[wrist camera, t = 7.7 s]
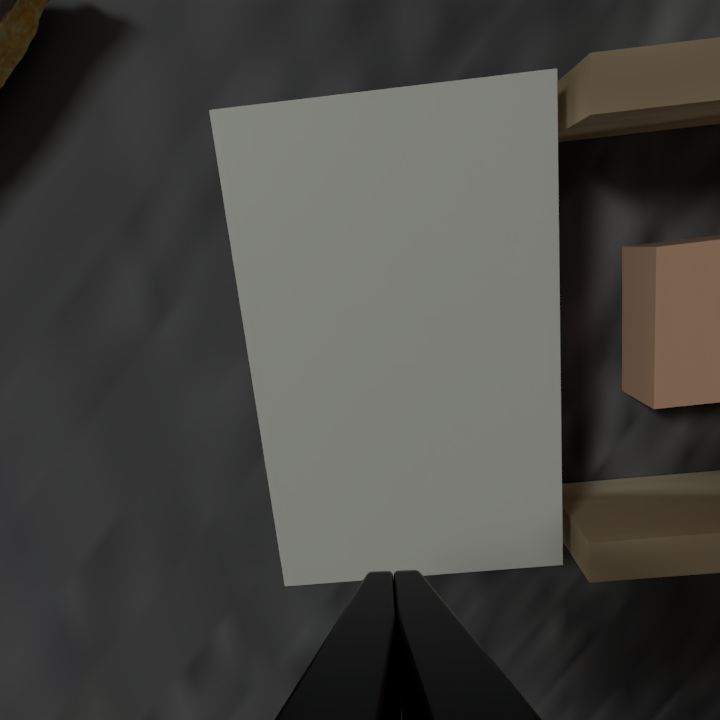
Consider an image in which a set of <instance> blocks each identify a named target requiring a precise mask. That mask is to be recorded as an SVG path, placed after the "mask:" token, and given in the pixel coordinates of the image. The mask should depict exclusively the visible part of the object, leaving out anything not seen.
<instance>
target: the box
mask: <svg viewBox="0 0 720 720" xmlns="http://www.w3.org/2000/svg"><path fill="white" fill-rule="evenodd" d="M557 100H558V142H565V141H573V140H582V139H591V138H600V137H609V136H617V135H626V134H635V133H644V132H653V131H662V130H670V129H679V128H688V127H697V126H706V125H714V124H720V37H718V38H710V39H701V40H693V41H685V42H677V43H668V44H660V45H652V46H644V47H635V48H627V49H619V50H610V51H602V52H594V53H590V54H589V55H588V56H586V57H585V58H584V59H583V60H582V61H581V62H580V63H578V64H577V65H576V66H575V67H574V68H573V69H571V70H570V71H569V72H568V73H567V74H566V75H565V76H563V77H562V78H561V79H560V80H559V81H558V82H557ZM562 529H563V543H564V544H565V546H566V547H567V549H568V550H569V552H570V553H571V555H572V557H573V558H574V560H575V561H576V563H577V564H578V566H579V567H580V569H581V570H582V572H583V574H584V575H585V577H586V578H587V580H588V581H589V583H591V582H604V581H617V580H630V579H644V578H657V577H670V576H684V575H697V574H710V573H720V471H708V472H696V473H684V474H672V475H660V476H648V477H636V478H624V479H613V480H601V481H589V482H577V483H565V484H562Z"/></svg>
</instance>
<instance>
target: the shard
mask: <svg viewBox="0 0 720 720" xmlns="http://www.w3.org/2000/svg"><path fill="white" fill-rule="evenodd" d="M48 2H49V0H0V88H1V87H3V86H4V84H5V81H6V80H7V78H8V77H9V76H10V74H11V73H12V71H13V70H14V68H15V67H16V65H17V64H18V63H19V62H20V61H21V59H22V58H23V56H24V55H25V53H26V51H27V49H28V47H29V44H30V42H31V41H32V39H33V38H34V36H35V35H36V32H37V30H38V26H39V19H40V17H41V15H42V12H43V10H44V9H45V7H46V5H47V4H48Z"/></svg>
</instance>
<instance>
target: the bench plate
mask: <svg viewBox="0 0 720 720" xmlns="http://www.w3.org/2000/svg"><path fill="white" fill-rule="evenodd" d="M209 112H210V118H211V125H212V131H213V137H214V144H215V150H216V156H217V162H218V169H219V175H220V181H221V188H222V194H223V200H224V206H225V213H226V219H227V225H228V232H229V238H230V244H231V251H232V257H233V263H234V269H235V276H236V282H237V288H238V295H239V301H240V307H241V313H242V320H243V326H244V332H245V339H246V345H247V351H248V358H249V364H250V370H251V376H252V383H253V389H254V395H255V402H256V408H257V414H258V420H259V427H260V433H261V439H262V446H263V452H264V458H265V465H266V471H267V477H268V483H269V490H270V496H271V502H272V509H273V515H274V521H275V527H276V534H277V540H278V546H279V553H280V559H281V565H282V572H283V578H284V584H285V586H295V585H308V584H321V583H334V582H347V581H360V580H363V579H364V578H365V576H366V575H367V573H369V572H373V571H390V572H392V573H393V578H394V573H395V572H396V571H400V570H417V571H419V572H420V573H421V574H422V575H423V576H425V575H438V574H451V573H464V572H477V571H490V570H503V569H516V568H529V567H542V566H555V565H563V529H562V443H561V357H560V272H559V186H558V100H557V69H549V70H540V71H532V72H524V73H515V74H507V75H498V76H490V77H482V78H473V79H465V80H457V81H448V82H440V83H432V84H423V85H415V86H407V87H398V88H390V89H382V90H373V91H365V92H357V93H348V94H340V95H332V96H323V97H315V98H306V99H298V100H290V101H281V102H273V103H265V104H256V105H248V106H240V107H231V108H223V109H215V110H209Z"/></svg>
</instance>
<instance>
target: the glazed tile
mask: <svg viewBox="0 0 720 720" xmlns="http://www.w3.org/2000/svg"><path fill="white" fill-rule="evenodd" d="M622 391H623V392H625V393H627V394H628V395H630V396H632V397H634V398H635V399H637V400H639V401H641V402H642V403H644V404H646V405H647V406H649V407H651V408H653V409H660V408H670V407H680V406H689V405H699V404H708V403H718V402H720V235H717V236H709V237H700V238H692V239H683V240H675V241H667V242H658V243H650V244H641V245H633V246H625V247H622Z"/></svg>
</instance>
